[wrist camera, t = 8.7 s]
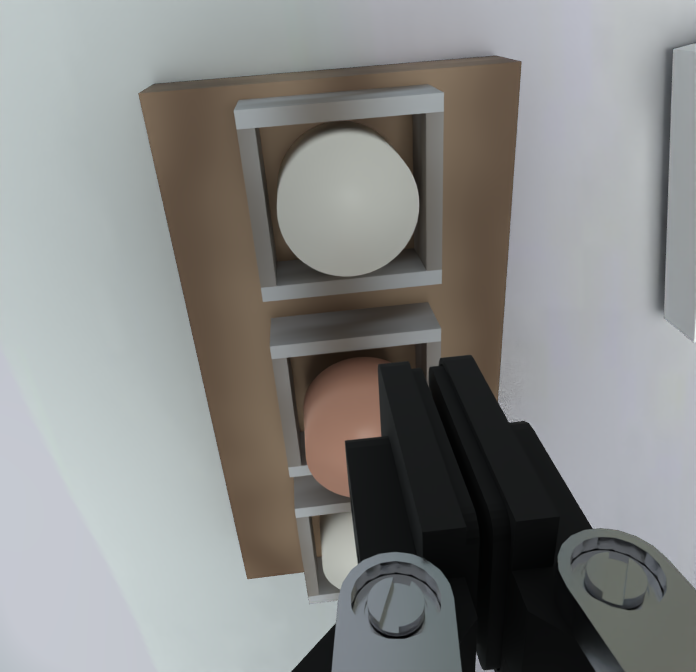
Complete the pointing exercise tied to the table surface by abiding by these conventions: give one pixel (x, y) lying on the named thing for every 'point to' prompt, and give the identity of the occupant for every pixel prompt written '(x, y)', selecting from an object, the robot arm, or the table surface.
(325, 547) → the far button
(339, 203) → the near button
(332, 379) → the middle button
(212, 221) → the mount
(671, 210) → the bracket
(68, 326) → the table surface
